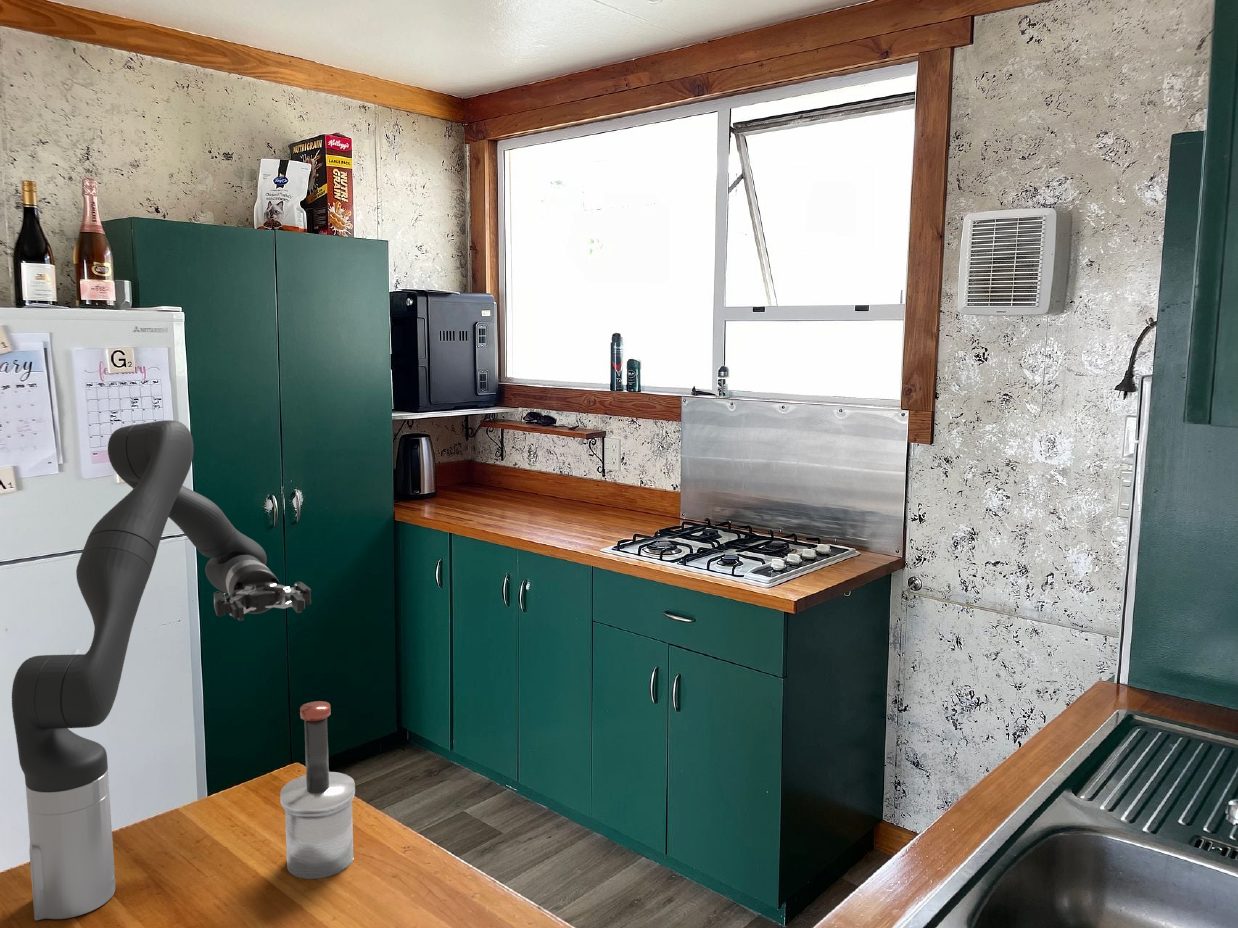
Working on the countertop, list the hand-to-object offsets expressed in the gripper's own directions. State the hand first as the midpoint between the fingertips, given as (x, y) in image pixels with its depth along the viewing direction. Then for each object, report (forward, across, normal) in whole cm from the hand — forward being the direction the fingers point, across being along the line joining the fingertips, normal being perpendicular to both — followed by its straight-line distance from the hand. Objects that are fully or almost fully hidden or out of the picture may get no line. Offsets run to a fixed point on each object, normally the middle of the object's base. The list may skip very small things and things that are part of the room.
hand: (271, 610), depth 143 cm
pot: (+19, +2, +32) cm, 37 cm away
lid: (+19, +2, +22) cm, 29 cm away
